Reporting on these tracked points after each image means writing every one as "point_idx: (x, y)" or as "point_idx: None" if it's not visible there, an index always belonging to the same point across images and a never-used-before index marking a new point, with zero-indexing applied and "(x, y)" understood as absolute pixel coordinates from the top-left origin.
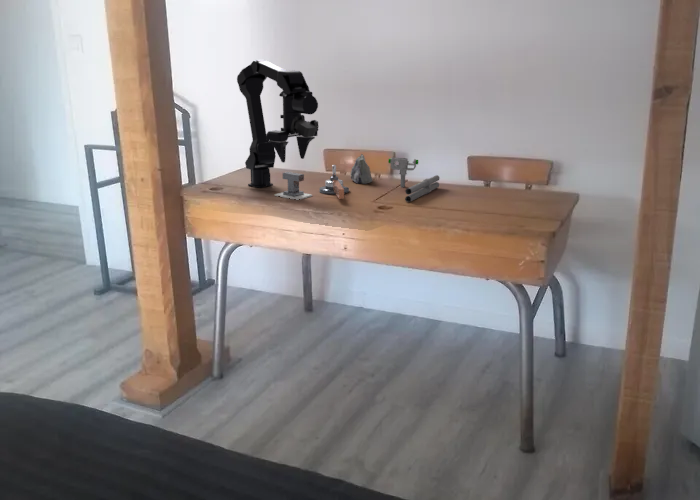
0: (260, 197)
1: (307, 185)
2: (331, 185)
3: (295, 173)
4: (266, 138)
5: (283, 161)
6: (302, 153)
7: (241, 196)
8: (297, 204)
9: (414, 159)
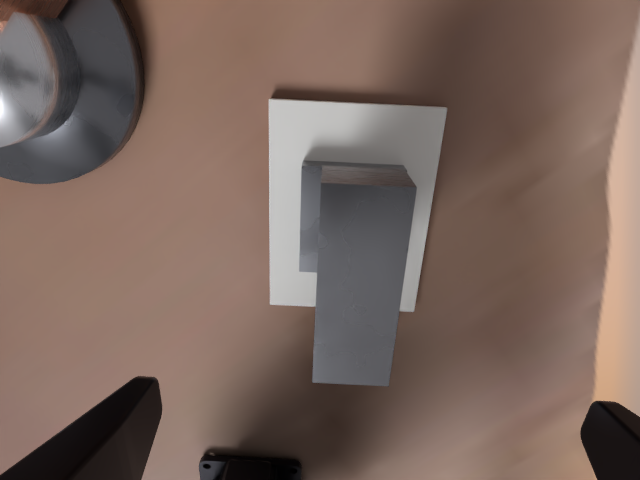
0: (491, 341)
1: (53, 325)
2: (43, 29)
3: (340, 280)
4: None
5: (627, 418)
6: (116, 460)
7: (518, 422)
8: (572, 7)
9: None
